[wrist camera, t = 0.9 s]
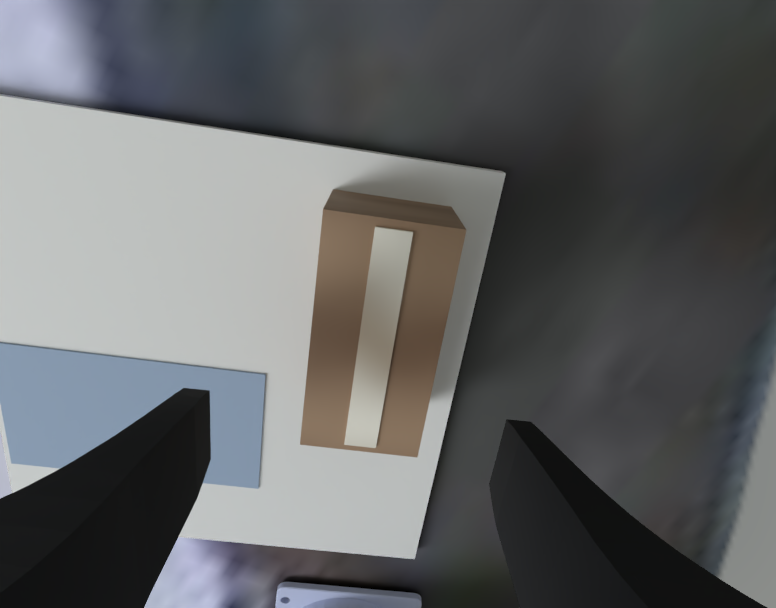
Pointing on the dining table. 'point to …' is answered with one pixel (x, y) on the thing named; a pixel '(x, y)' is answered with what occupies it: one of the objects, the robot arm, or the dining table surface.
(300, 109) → the dining table surface
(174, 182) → the mat
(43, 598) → the robot arm
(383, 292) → the cardboard box
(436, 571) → the dining table surface
